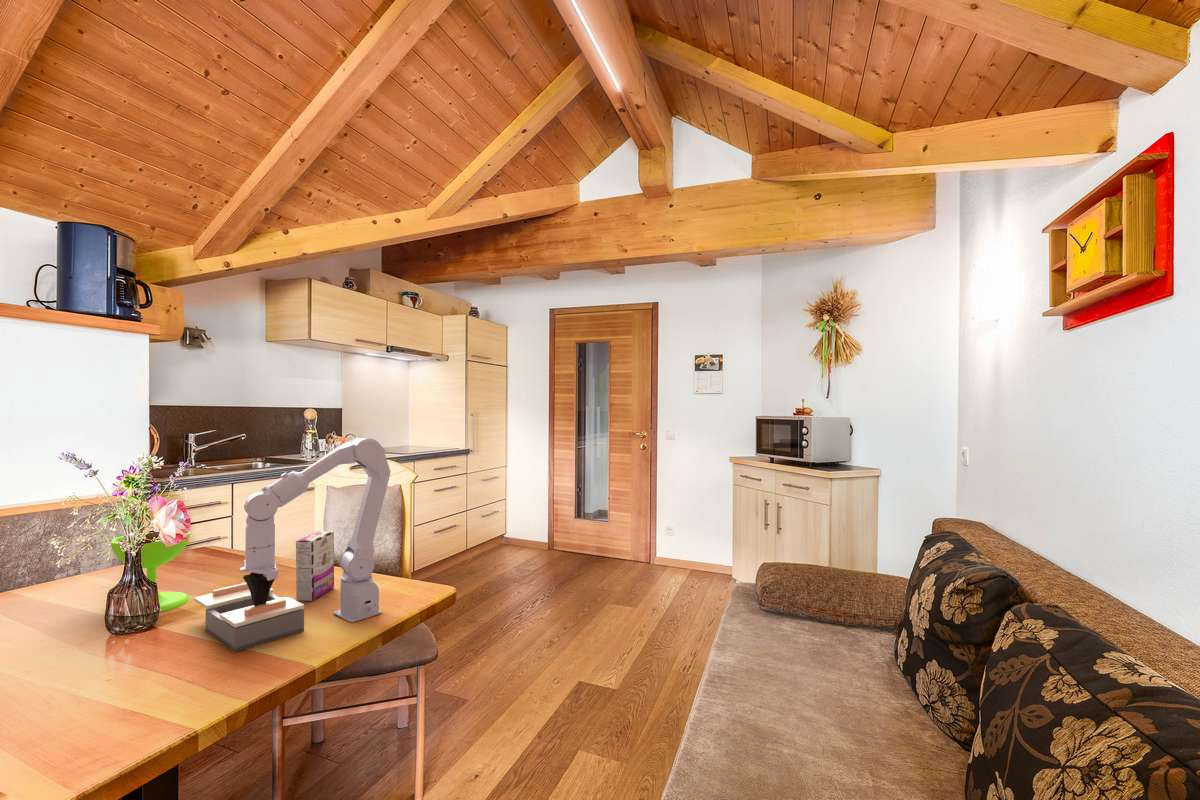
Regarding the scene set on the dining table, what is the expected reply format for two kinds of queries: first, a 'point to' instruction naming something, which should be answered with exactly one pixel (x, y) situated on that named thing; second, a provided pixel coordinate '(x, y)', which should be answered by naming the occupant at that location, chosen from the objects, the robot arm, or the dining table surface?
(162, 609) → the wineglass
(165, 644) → the dining table surface
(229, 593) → the lid
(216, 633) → the box
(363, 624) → the dining table surface
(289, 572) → the dining table surface
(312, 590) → the candy bar box
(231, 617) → the lid
